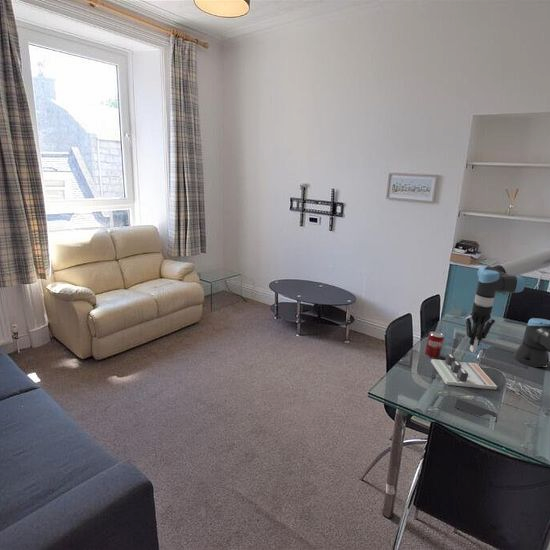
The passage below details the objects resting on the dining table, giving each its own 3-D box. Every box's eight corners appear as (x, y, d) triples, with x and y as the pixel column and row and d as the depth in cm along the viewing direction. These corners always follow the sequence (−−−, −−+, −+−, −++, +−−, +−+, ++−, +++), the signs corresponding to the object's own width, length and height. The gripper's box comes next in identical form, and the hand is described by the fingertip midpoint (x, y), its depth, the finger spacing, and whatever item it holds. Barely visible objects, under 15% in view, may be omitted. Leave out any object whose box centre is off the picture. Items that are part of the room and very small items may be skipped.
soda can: (440, 360, 187) (446, 338, 184) (425, 357, 188) (430, 336, 185) (437, 353, 194) (442, 332, 190) (423, 351, 195) (427, 330, 192)
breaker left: (451, 362, 182) (452, 354, 181) (453, 365, 179) (455, 357, 178) (444, 361, 182) (446, 353, 181) (447, 364, 180) (449, 357, 178)
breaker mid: (456, 369, 176) (458, 361, 174) (459, 373, 173) (461, 365, 172) (450, 369, 176) (452, 361, 175) (453, 372, 173) (454, 364, 172)
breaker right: (463, 377, 169) (465, 369, 168) (466, 381, 166) (468, 373, 165) (456, 377, 169) (458, 369, 168) (459, 380, 166) (461, 372, 165)
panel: (475, 366, 184) (476, 362, 183) (496, 389, 165) (497, 385, 164) (430, 361, 185) (431, 358, 184) (446, 384, 165) (447, 380, 165)
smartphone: (496, 422, 142) (454, 406, 149) (495, 424, 142) (453, 408, 149) (497, 412, 148) (456, 397, 155) (496, 414, 148) (455, 399, 155)
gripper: (493, 302, 170) (482, 348, 177) (464, 300, 170) (455, 346, 177) (502, 308, 163) (490, 355, 170) (472, 306, 163) (462, 354, 170)
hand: (472, 351), depth 174 cm, fingers closed
